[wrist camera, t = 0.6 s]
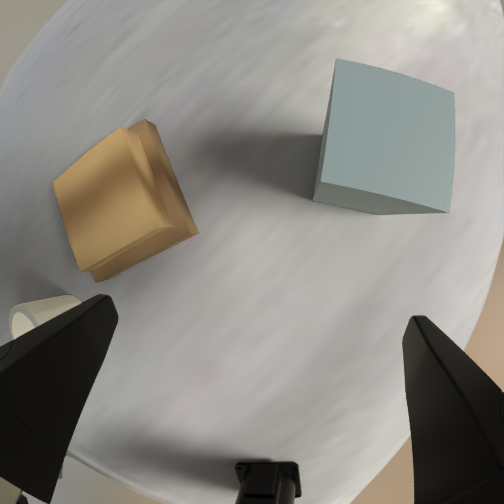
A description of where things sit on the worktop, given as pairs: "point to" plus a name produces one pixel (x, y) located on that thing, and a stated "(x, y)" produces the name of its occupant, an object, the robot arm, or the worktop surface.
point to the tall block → (386, 143)
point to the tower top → (110, 200)
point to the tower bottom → (172, 201)
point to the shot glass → (38, 313)
